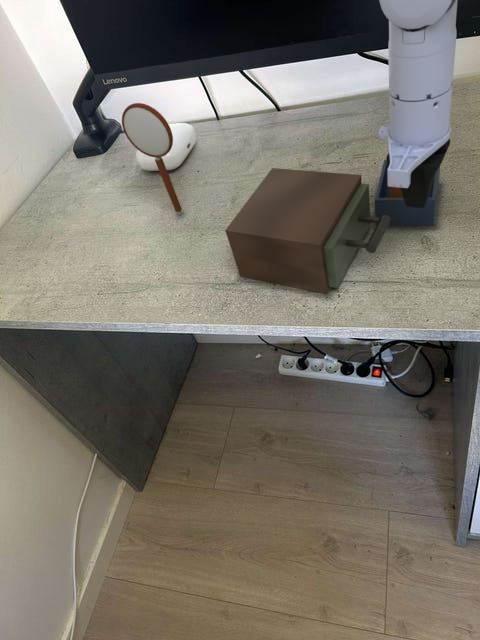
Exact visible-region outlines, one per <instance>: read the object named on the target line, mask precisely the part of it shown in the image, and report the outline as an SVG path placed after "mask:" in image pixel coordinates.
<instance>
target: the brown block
mask: <svg viewBox="0 0 480 640" xmlns="http://www.w3.org/2000/svg"><path fill="white" fill-rule="evenodd" d="M389 198H403V195H402V191H401V188H398V187H389Z"/></svg>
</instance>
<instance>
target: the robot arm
mask: <svg viewBox="0 0 480 640" xmlns="http://www.w3.org/2000/svg"><path fill="white" fill-rule="evenodd" d="M378 2H379V5H380V8H381V11H382V12H383V13H382V14H383V15H384V16H385V17H386V19H387V20H388V44H387V45H388V51H387V52H388V100H389V101H388V102H389V104H388V106H389V107H388V110H389V111H388V112H389V123H385V124H383V125H382V126H381V127H380V128H379V130H378V132H377V135H378V139H379V140H382V141H387V145H388V146H387V148H388V153H387V154H386V158H385V160H386V161H387V167H388V170H387V179H388V186H389V187H398V188H401V191H402V195H403V198H404V202H405V204H406V206H407V207H415V208H424V207H425V204H426V202H427V200H428V198H429V195H430V192H431V188H432V184H433V181H434V177H435V174H436V171H437V170H438V168H439V166H440V167H441V165H442V163H443V161H444V159H445V157H446V154H447V152H448V149H449V148H450V145H451V134H452V125H451V110H452V109H451V108H452V97H453V96H452V95H453V83H454V72H455V71H454V70H455V58H456V57H455V56H456V46H457V27H456V25H457V24H456V23H457V12H458V11H457V10H458V0H378Z"/></svg>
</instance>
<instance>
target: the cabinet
mask: <svg viewBox="0 0 480 640" xmlns="http://www.w3.org/2000/svg"><path fill="white" fill-rule="evenodd" d="M360 183H362V184H363V182H362V174H354V173H341V172H329V171H315V170H302V169H292V168H291V169H289V168H278V167H272V168H271V169H270V170H269V172H268V173H267V174H266V175H265V176H264V178H263V179H262V181H261V182H260V183H259V184H258V186H257V188H256V189H255V190H254V192H253V193H252V194H251V195H250V197H249V198H248V199H247V201H246V202H245V203H244V205H243V206H242V207H241V209H240V210H239V211H238V213H237V214H236V215H235V216H234V218H233V219H232V221H231V222H230V223H229V225H228V226H227V227H226V228H225V234H226V238H227V240H228V243H229V246H230V249H231V253H232V255H233V258H234V262H235V264H236V268H237V270H238V274H239V277H241V278H245V279H246V278H247V279H251V280H257V281H260V282H266V283H271V284H276V285H281V286H286V287H290V288H295V289H299V290H304V291H309V292H315V293H320V294H324V295H328V294H329V293H330V291H331V289H332V287H329V284H328V277H327V270H326V264H325V257H324V250H323V246H324V244H325V242H326V240H327V239H328V237H329V235H330V233H331V232H332V230H333V228H334V227H335V225H336V223H337V221H338V220H339V218H340V216H341V214H342V213H343V211H344V209H345V208H346V206H347V204H348V202H349V201H350V200H351V199H352V197H353V195H354V193H355V192H356V190H357V188H358V186H359V185H360Z"/></svg>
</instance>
